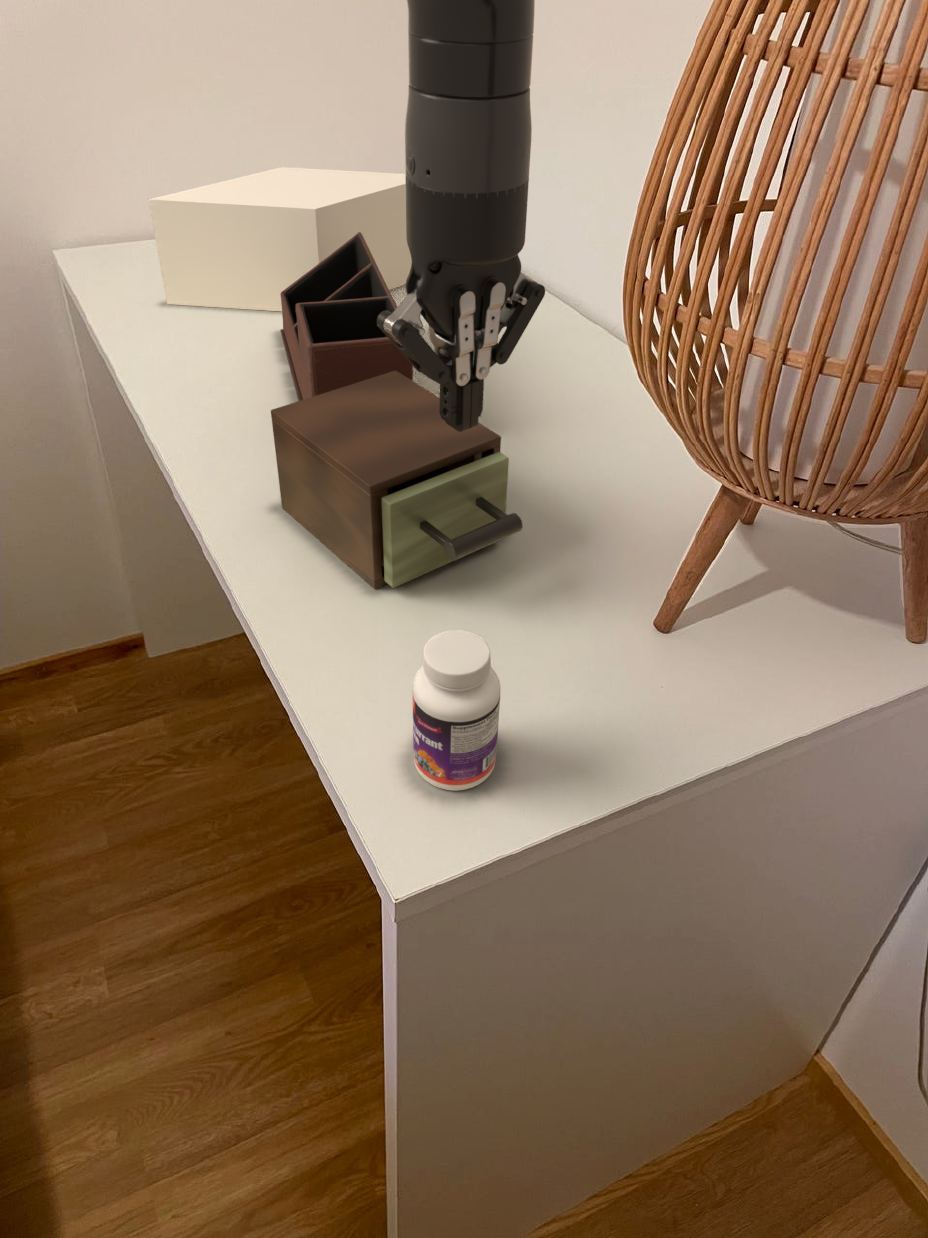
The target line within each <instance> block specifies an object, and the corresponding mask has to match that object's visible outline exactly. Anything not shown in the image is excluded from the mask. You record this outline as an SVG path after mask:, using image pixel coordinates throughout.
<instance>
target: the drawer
mask: <svg viewBox="0 0 928 1238" xmlns="http://www.w3.org/2000/svg"><path fill="white" fill-rule="evenodd" d="M509 460H510V457H508V456H507V455H506V454H504V453H502V452H501V451H500V452H497V453H495V454H492V455H490V456H487V457H484V458H482V452H481V453H479V454H476V455H474V456H471V457H468V458H466V459H463V460H461V461H458V462H456V463H453V464H450V465H448V466H445V467H443V468H440V469H437V470H435V471H432V472H430V473H427V474H425V475H422V476H419V477H417V478H414V479H412V480H409V481H406V482H404V483H401V484H399V485H396V486H394V487H391V488H388V489H386V490H383V491H381V492H378V493H379V508H380V533H381V558H382V566H384V578H385V582H386V583H388V584H387V585H389V586H390V587H391V588H392V589H395V588H397V587H399V586H401V585H403V584H405V583H408V582H410V581H412V580H415V579H416V578H419V577H421V576H424V575H425V574H428V573H431V572H432V571H434V570H436V569H439V568H441V567H443V566H446V565H448V564H450V563H452V562H455V561H457V560H458V559H461V558H463V557H466V556H468V555H470V554H473V553H474V552H477V551H479V550H481V549H483V548H485V547H488V546H490V545H492V544H495V543H497V542H499V541H502V540H503V539H506V538H508V537H511V536H512V535H515V534H517V533H518V532H521V531H522V530H523V527H524V526H523V520H522V518H521V517H520V515H518V514H517V513H516V512H512V513H509V514H508V513H507V511H506V509H507V496H508V495H507V493H508V479H509V477H508V475H509V462H510V461H509Z"/></svg>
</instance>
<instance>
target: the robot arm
mask: <svg viewBox="0 0 928 1238" xmlns="http://www.w3.org/2000/svg"><path fill="white" fill-rule="evenodd" d="M535 2H536V1H535V0H406V5H407V33H408V34H407V36H408V37H407V38H408V41H407V42H408V43H407V44H408V47H407V48H408V49H407V50H408V89H407V90H408V91H407V92H408V94H407V95H408V96H407V103H406V104H407V105H406V113H405V123H404V158H405V159H404V160H405V161H404V163H405V173H404V174H405V177H406V239H407V244H408V247H409V251H410V254H411V259H412V264H411V269H410V272H409V275H408V277H407V280H406V284H405V293H406V296H405V297H404V298H403V299H402V300H401V302H400V303H399V304H398V305H397V308H396V309H395V311H394V312H393V313H391V312H389V311H386V310H385V311H382V312H381V313H380V314H379V315H378V317H377V325H378V327H379V328H380V329H381V330H382V332H383V333H384V334H385V335H386V336H387V337H388V338H389V340H390V341H391V342H392V343H393V344H394V345H395V346H396V347H397V349H398V350H399V351H400V352H401V353H402V354H403V355H404V357H405V358H406V359H407V360H408V361H409V362H410V363H411V364H412V366H413V369H415V370H416V371H417V372H419V373H420V374H422V375H424V376H425V377H427V378H429V379H430V380H432V381H433V382H435V383H436V384H438V385H439V398H440V409H439V413H440V416H441V418H442V419H443V420H445V422H446V423H447V424H448V425H449V426H451V427H452V428H454V429H455V430H457V431H459V432H461V431H464V430H467V429H469V428H472V427H475V426H477V425H478V422H479V418H480V417H482V413H483V410H484V390H485V389H484V388H485V387H484V386H485V379H486V378H487V377H488V376H489V373H490V369H491V368H492V367H493V366H495V365H496V364H498V365H501V366H502V365H504V364H506V363H507V362H508V361H509V359H510V357H511V355H512V354H513V352H514V350H515V349H516V346H517V344H518V343H519V341H520V339H521V337H522V335H523V334H524V333H525V331H526V329H527V327H528V325H529V323H530V322H531V320H532V318H533V317H534V315H535V314H536V311H537V310H538V308H539V306H540V304H541V302H542V301H543V300H544V297H545V295H546V287H545V286H544V285H543V284H541V283H538V281H535V280H533V279H532V278H529V277H527V276H526V275H525V274H523V273H522V262H521V259H520V256H519V254H520V253H521V252H522V250H523V249H524V246H525V244H526V232H527V216H528V199H529V182H530V166H531V154H532V153H531V151H532V131H533V130H532V129H533V128H532V127H533V125H532V111H531V83H532V81H531V80H532V65H533V49H534V33H535V32H534V28H535V9H536V7H535ZM421 317H422V319H424V320H425V322H426V324H427V325H428V336H429V340H430V342H431V343H432V345H433V348H432V347H431V345H429V343H428V342H427V340H425V338H424V337H423V336H424V335H425V333H426V329H425V328H424V323H423V321H422V319H421ZM504 328H505V330H504V332H503V333H502V330H503V329H504ZM500 333H502V335H501V338H500V339H499V336H500ZM498 340H499V341H498Z"/></svg>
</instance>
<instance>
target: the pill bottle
mask: <svg viewBox="0 0 928 1238" xmlns="http://www.w3.org/2000/svg"><path fill="white" fill-rule="evenodd" d="M422 652H423V653H422V655H423V657H422V660H423V661H422V665H421V667H420V668H419V669H418V670H417V672H416V673H415V675H414V678H413V682H412V692H411V693H412V744H413V745H412V749H413V750H412V751H413V752H412V753H413V761H414V766H415V769H416V770H417V772H418V774H419V776H420V777H422V779H424V780H425V781H426V782H427V783H429V784H430V785H432V786H434V787H436V788H439V789H442V790H445V791H464V790H468V789H472V788H475V787H476V786H479V785H480V784H482V783H483V782H485V781H486V780H487V779H488V778H489V777H490V775H491V774H492V773H493V771H494V768H495V767H496V762H497V760H496V759H497V753H498V740H499V739H498V737H499V723H500V722H499V721H500V708H501V707H500V705H501V681H500V678H499V676H498V674H497V673H496V671H495V670H494V668H493V667H492V663H491V658H492V657H491V649H490V646H489V644H488V642H487V641H486V640H485V638H483V637H481V636H480V635H479V634H477V633H475V632H472V631H469V630H465V629H449V630H445V631H441V632H438V633H437V634H434V635H432V637H430V638H429V640H427V642H426V643H425V645H424V648H423V651H422Z"/></svg>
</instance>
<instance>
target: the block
mask: <svg viewBox="0 0 928 1238" xmlns="http://www.w3.org/2000/svg"><path fill="white" fill-rule="evenodd" d="M148 206H149V211H150V217H151V222H152V228H153V233H154V238H155V244H156V250H157V256H158V260H159V268H160V272H161V273H160V274H161V278H162V284H163V289H164V295H165V301H166V305H177V306H193V307H206V308H207V307H208V308H222V309H237V310H252V311H253V310H254V311H268V312H269V311H270V312H282V304H281V292H282V291H283V290H285V289H286V288H287V287H289V286H290V285H291V284H293V283H294V282H295V281H297V280H298V279H299V278H300V277H302V276H303V275H304V274H306V273H307V272H309V271H310V270H311V269H313V268H314V267H315V266H316V265H318V264H319V263H320V262H321V261H323V260H324V259H325V258H327V257H328V256H329V255H331V254H332V253H333V252H335V251H336V250H337V249H338V248H340V247H341V246H342V245H343V244H345V243H346V242H347V241H348V240H350V239H351V238H352V237H354V236H355V235H356V234H357V233H358V232H361V234H362V236H363V237H364V239H365V242H366V244H367V246H368V248H369V250H370V252H371V254H372V256H373V258H374V260H375V262H376V264H377V267H378V269H379V271H380V273H381V275H382V277H383V279H384V281H385V283H386V285H387V287H388V289H389V291H391V290H394V289H396V288H399V287H402V286H406V280H407V277H408V275H409V272H410V269H411V264H412V259H411V254H410V251H409V247H408V244H407V239H406V177H405V173H401V172H400V173H399V172H398V173H397V172H396V173H395V172H383V171H382V172H380V171H378V172H377V171H363V170H361V171H360V170H344V169H325V168H309V167H308V168H307V167H287V166H280V167H276V168H273V169H269V170H268V169H267V170H265V171H260V172H256V173H251V174H247V175H244V176H243V175H242V176H239V177H235V178H231V179H227V180H223V181H218V182H213V183H210V184H206V185H202V186H198V187H193V188H190V189H186V190H182V191H181V190H180V191H176V192H173V193H169V194H165V195H161V196H156V197H153V198H149V199H148Z"/></svg>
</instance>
